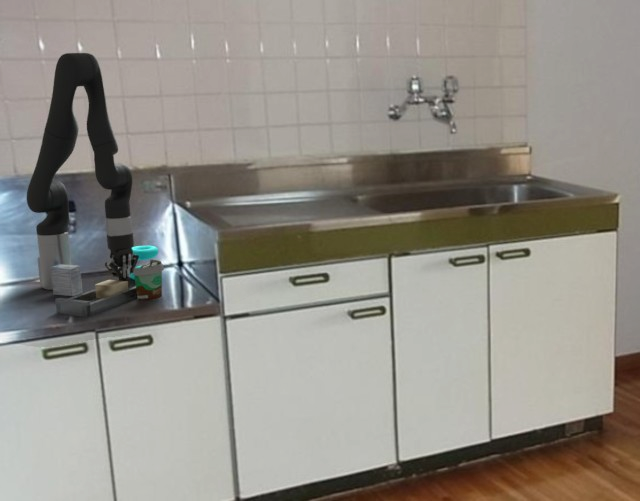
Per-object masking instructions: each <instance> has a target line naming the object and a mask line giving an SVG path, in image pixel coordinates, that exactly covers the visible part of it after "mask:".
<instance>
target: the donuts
mask: <svg viewBox="0 0 640 501" xmlns="http://www.w3.org/2000/svg"><path fill="white" fill-rule="evenodd" d="M132 250H133V253H134V254H135V255H139V258H138V261H146V260H152V259H153V258H156V257H157V256H158V254H159V249H158V247H156V246H155V245H150V244H149V245H137V246H133V247H132ZM143 265H144V264H142V265H136V266H135V268H140V267H141V266H143ZM129 279H132V280H133V281H135V276H133V273H131V274H130V276H129Z"/></svg>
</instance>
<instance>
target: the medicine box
mask: <svg viewBox="0 0 640 501" xmlns="http://www.w3.org/2000/svg"><path fill="white" fill-rule="evenodd" d="M51 277H52V286H53V290H52V293H53V295H56V296H57V295H58V296H67V297H74V296H76V295H79V294H82V293H84V292H83V284H82V273H81V267H80V265H76V264H75V265H73V264H72V265H62V264H60V265H56V266H53V267H51Z"/></svg>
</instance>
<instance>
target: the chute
mask: <svg viewBox="0 0 640 501" xmlns="http://www.w3.org/2000/svg"><path fill="white" fill-rule="evenodd" d="M136 299H138V298H137V290H136V285H134V286H133V287H129V289H127V290H124V291H121V292H119V293H116V294H113V295H110V296H108V297H105V298H96V291H95V288H94V289H91V290H88V291H86V292H83V293H82V294H79V295H76V296H70V297H69V298H63V297H57V298H55V308H56V314H61V315H66V316H67V315H68V316H75V317H76V316H77V317H84V318H89V317H92V316H94V315H96V314H99V313H103V312H104V311H106V310H109V309H112V308H115V307H116V306H117V307H118V306H120V305H122V304H125V303H127V302H130V301H132V300H136Z"/></svg>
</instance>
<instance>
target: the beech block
mask: <svg viewBox="0 0 640 501" xmlns="http://www.w3.org/2000/svg"><path fill="white" fill-rule="evenodd" d="M94 289H95V291H96V298H105V297H108V296H110V295H113V294H116V293H119V292H121V291H124V290H127V289H128V281H119V279H118V280H117V279H116V280H115V279H107V280H103V281H101V282H98V283H96V284H94Z"/></svg>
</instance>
